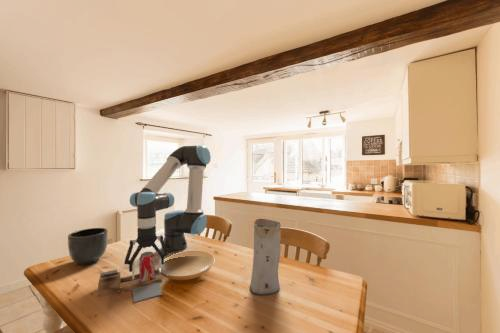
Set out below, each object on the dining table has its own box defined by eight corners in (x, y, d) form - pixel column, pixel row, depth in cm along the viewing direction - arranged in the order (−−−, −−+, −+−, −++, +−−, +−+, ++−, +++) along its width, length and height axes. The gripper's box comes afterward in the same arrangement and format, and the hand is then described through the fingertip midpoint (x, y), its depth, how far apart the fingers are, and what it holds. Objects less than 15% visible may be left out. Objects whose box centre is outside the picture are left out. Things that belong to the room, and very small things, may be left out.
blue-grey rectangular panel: (118, 271, 94) (118, 269, 88) (118, 274, 93) (118, 271, 87) (100, 276, 90) (98, 273, 84) (100, 278, 90) (98, 276, 84)
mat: (158, 283, 96) (158, 282, 96) (161, 294, 87) (161, 293, 87) (132, 289, 91) (132, 288, 91) (133, 303, 82) (133, 301, 82)
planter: (114, 258, 122) (114, 229, 122) (80, 272, 106) (79, 239, 106) (96, 253, 129) (95, 226, 129) (61, 265, 114) (60, 234, 113)
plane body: (158, 272, 106) (158, 262, 106) (161, 281, 97) (161, 270, 97) (100, 286, 94) (100, 274, 94) (97, 298, 85) (97, 285, 85)
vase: (259, 301, 83) (260, 229, 83) (243, 283, 96) (244, 220, 95) (286, 292, 89) (288, 225, 89) (268, 276, 102) (270, 217, 101)
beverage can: (148, 284, 95) (148, 257, 95) (136, 283, 96) (136, 256, 96) (157, 277, 101) (157, 251, 101) (145, 275, 102) (145, 250, 102)
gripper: (171, 221, 107) (171, 265, 108) (117, 228, 96) (117, 277, 96) (174, 224, 101) (175, 271, 101) (116, 232, 89) (117, 286, 90)
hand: (147, 274), depth 99 cm, fingers open, 10 cm apart
